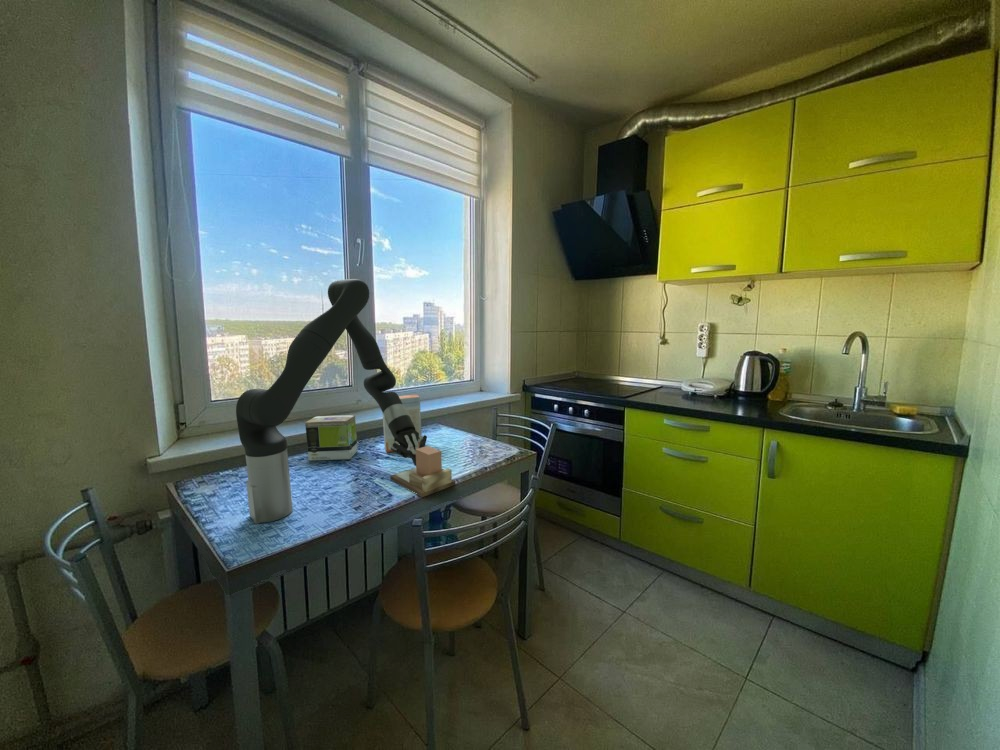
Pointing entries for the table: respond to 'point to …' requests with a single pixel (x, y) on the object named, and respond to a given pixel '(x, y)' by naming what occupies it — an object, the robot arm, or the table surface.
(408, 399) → the cracker box
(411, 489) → the board
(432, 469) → the tall tan block
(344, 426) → the tea box
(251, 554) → the table surface
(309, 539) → the table surface
